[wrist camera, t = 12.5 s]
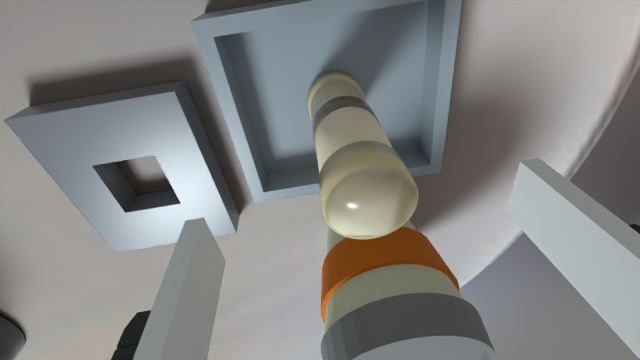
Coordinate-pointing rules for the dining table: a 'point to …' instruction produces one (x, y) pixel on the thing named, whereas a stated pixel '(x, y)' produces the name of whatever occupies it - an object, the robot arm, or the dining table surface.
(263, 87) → the parts tray
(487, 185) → the dining table surface
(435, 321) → the reusable coffee cup
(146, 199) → the block
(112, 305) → the dining table surface
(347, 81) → the cylinder
